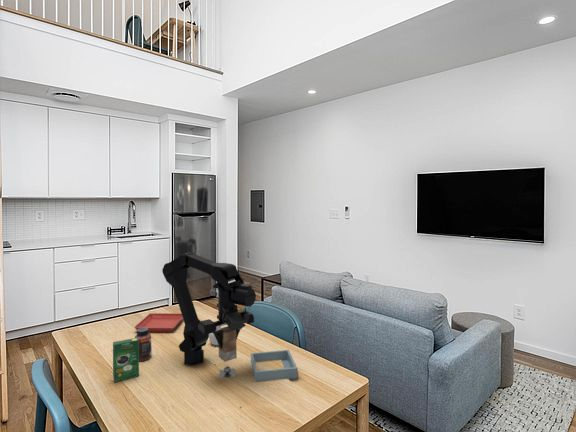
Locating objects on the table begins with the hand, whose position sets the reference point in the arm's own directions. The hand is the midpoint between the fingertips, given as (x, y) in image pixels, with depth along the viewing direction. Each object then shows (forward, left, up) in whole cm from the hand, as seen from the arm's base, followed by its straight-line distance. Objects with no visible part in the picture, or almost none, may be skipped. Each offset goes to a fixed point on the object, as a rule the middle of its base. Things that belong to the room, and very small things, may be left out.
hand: (227, 346), depth 124 cm
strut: (0, 0, -4) cm, 4 cm away
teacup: (-2, +27, -11) cm, 29 cm away
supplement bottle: (-31, +20, -11) cm, 39 cm away
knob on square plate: (0, 0, -11) cm, 11 cm away
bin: (+16, 0, -11) cm, 19 cm away
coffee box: (-34, +6, -11) cm, 36 cm away
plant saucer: (-29, +53, -11) cm, 62 cm away
